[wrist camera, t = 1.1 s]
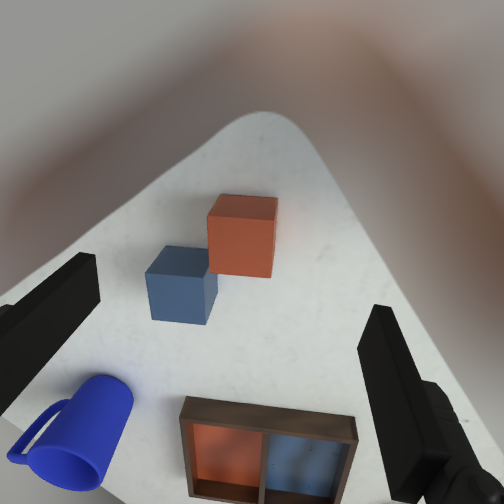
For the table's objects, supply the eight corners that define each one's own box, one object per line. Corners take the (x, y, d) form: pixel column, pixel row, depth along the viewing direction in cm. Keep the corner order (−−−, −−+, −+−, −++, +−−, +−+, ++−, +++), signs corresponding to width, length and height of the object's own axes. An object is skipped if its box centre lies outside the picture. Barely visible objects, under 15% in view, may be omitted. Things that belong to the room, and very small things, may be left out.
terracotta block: (278, 197, 28) (274, 220, 24) (274, 249, 30) (271, 278, 26) (220, 194, 28) (206, 215, 24) (221, 245, 31) (209, 273, 26)
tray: (354, 416, 40) (359, 441, 37) (333, 495, 48) (335, 519, 46) (186, 396, 42) (178, 417, 39) (194, 474, 50) (188, 496, 48)
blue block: (216, 249, 31) (203, 278, 27) (217, 293, 33) (205, 325, 29) (165, 245, 31) (144, 272, 27) (170, 288, 34) (151, 320, 29)
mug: (44, 369, 43) (-21, 445, 34) (129, 366, 40) (82, 446, 32) (71, 411, 46) (18, 489, 37) (150, 410, 44) (113, 493, 35)
